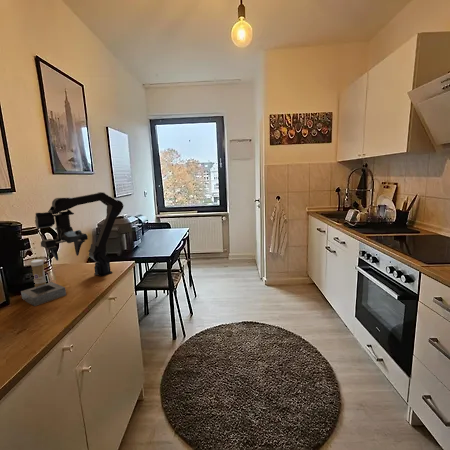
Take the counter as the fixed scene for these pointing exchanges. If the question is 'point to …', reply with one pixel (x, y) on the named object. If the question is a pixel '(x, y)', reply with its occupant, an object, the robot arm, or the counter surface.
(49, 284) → the block
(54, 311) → the counter surface
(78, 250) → the robot arm
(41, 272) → the sprinkles bottle
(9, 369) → the counter surface
